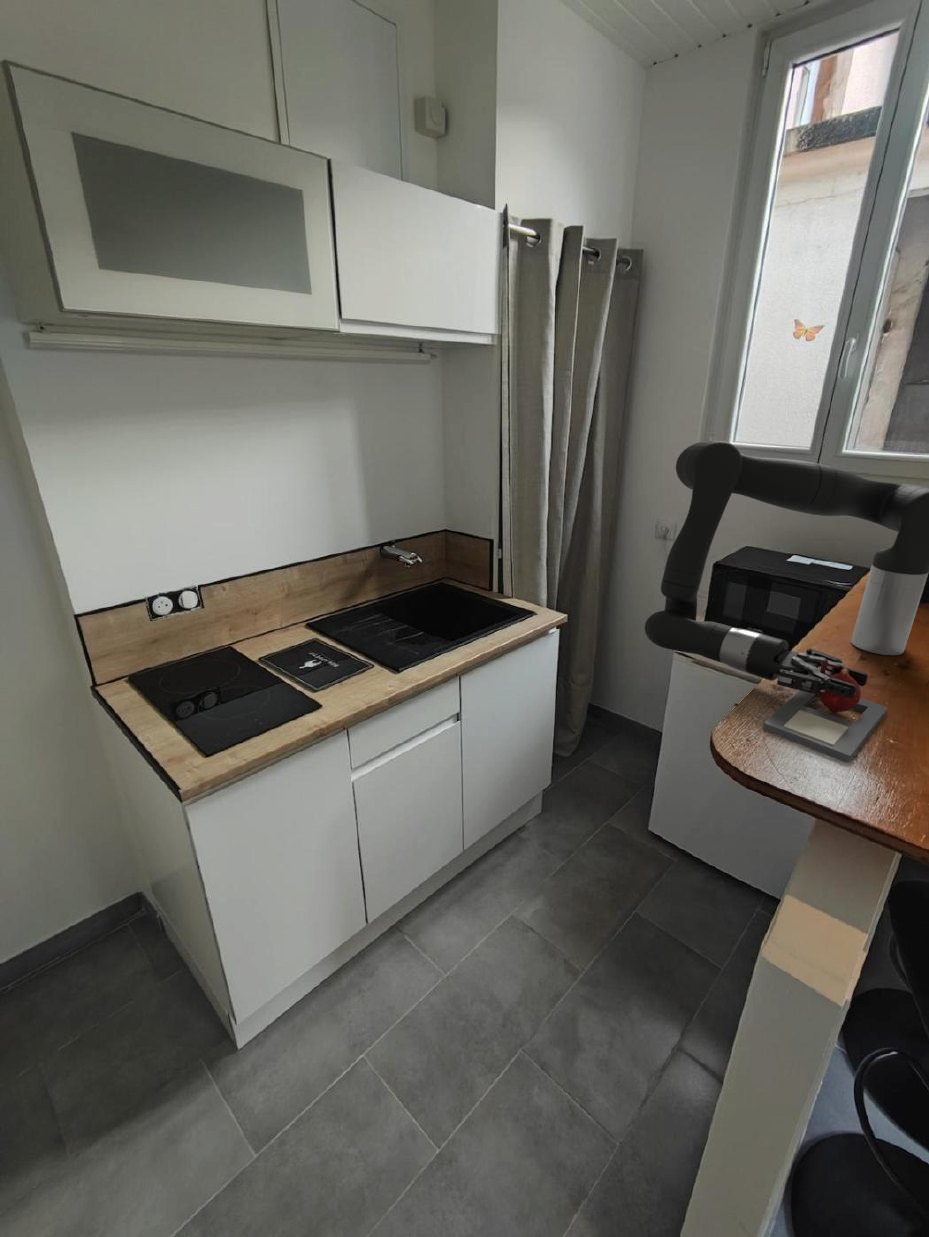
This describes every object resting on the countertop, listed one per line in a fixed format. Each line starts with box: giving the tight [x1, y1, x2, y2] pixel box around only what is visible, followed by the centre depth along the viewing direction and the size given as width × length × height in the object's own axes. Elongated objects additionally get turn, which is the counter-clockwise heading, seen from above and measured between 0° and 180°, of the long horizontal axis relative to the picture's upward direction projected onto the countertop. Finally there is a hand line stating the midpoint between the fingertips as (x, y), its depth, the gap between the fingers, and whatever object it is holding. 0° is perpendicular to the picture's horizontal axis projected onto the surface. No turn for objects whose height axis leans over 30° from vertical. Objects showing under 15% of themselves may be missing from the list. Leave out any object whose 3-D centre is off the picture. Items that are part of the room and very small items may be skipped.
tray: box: [762, 690, 889, 764], centre depth 92 cm, size 20×12×1 cm, turn 133°
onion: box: [818, 669, 861, 714], centre depth 94 cm, size 6×6×8 cm
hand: (860, 686), depth 91 cm, fingers closed on onion, 5 cm apart
